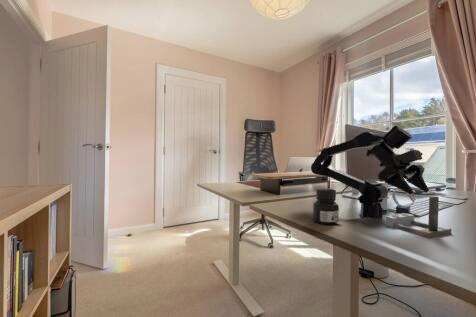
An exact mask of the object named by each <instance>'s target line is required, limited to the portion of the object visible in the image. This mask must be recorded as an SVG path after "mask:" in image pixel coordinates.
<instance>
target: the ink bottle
mask: <svg viewBox="0 0 476 317" xmlns="http://www.w3.org/2000/svg"><path fill="white" fill-rule="evenodd" d="M315 193H316V194H315V197H316V200H315V201H314V202H313V203H312V204H313V205H312V221H313V222H314V223H317V224H320V225H324V226H325V225H326V226H330V225H332V226H333V225H337V224H338V223H337V222H339V218H340V217H339V212H340V210H339V208H340V207H339V204H338V203H337V202H336V200H337V198H336V196H337V191H336V190H335V189H332V188H324V187H323V188H317V189H316V191H315Z"/></svg>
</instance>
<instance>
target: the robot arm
mask: <svg viewBox="0 0 476 317" xmlns="http://www.w3.org/2000/svg"><path fill="white" fill-rule="evenodd" d="M412 138H413V135H412V134H411V133H410V132H409V131H407V130H405V129H403V128H401V127H400V126H398V125H394V126H392V127H391V129H390V130H389V131H388V132H387V133H385V135H381V134H380V135H379V134H378V133H375V132H370V131H364V132H361V133H360V134H358V135H356V136H354V137H353V138H352V139H350V140H347V141H344V142H341V143H338V144H334V145H331V146H329V147H324V148H322V149H321V151H320V153H319V155H318V156H316V157H315V159H314V160H313V163H311V166H310V170H311V172H312V173H313V174H315V175H318V176H322V177H327V178H330V179H331V180H335V181H337V182H339V183H341V184H344V185H345V186H348V187H350V188H352V189H354V190H357V191H358V192H359V193H360V196H358V198H357V199H358V201H359V204H360V213H359V217H360V218H362V219H363V218H372V219H373V218H374V219H377V218H383V210H382V209H383V208H382V207H381V204H380V202H382V201H383V199H384V198H386V197H387V195H388V196H389V191H388V190H389V189H388V190H387V188H386V187H385V186H384V185H382V184H383V183H378V182H376V181H377V180H375V179H366V180H362V179H359V178H357V177H355V176H353V175H350V174H348V173H345V172H342V171H341V170H337V169H335V168H334V167H333V166H332V165H331V164H332V161H333V157H334V156H335V155H338V154H339V155H340V154H342V153H345V152H349V151H352V150H355V149H356V150H357V149H366V148H367V149H366V151H367V152H366V153H365V154H366V155H365V157H369V158H373V157H375V158H376V159H377V161H378V162H379V163H380V164H379V167H381V168H383V167H384V168H383V169H382V170H380V171H379V172H378V173H377V179H379V182H385V183H388V185H390V186H392V187H395V188H396V189H398V188H399V189H398V190H401V191H402V192H405V193H406V192H407V193H409V194H412V193H413V194H414V193H415V192H414V190H413V189H412V187H411V186H410V184H411V185H413V186H414V187H416V188H417V189H420V190H421V191H423V192H425V193H428V192H429V191H430V190H429V186H428V185H427V184H426V182H425V180H424V177H423V174H424V172H425V167H424V166H423V165H422V164H412V163H414V162H416V161H420V160H423V157H422V156H423V153H422V152H421V150H419V149H411V150H408V151H406V152H404V153H401V154H399V153H398V154H397V153H395V151H393V150H395V149H397V150H399V149H401V148H402V147H403V146H404V145H405V144H406V143H408V142H409V141H410V140H411V139H412ZM369 148H371V149H369ZM392 149H393V150H392ZM387 198H388V197H387Z"/></svg>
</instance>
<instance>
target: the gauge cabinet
mask: <svg viewBox="0 0 476 317" xmlns="http://www.w3.org/2000/svg"><path fill="white" fill-rule="evenodd" d="M413 220H414V221H415V215H414V214H411V213H402V212H401V213H400V214H391V215H387V216H385V226H388V227H391V228H395V227H394V224H395V223H397V224H400V225H403V226H407V225H413V224H412V221H413Z"/></svg>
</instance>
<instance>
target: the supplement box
mask: <svg viewBox="0 0 476 317" xmlns="http://www.w3.org/2000/svg"><path fill="white" fill-rule="evenodd" d="M375 181H376V182H378V183H383V184H382V185H384V186H385V187H386V188H387V190H389V184H388V183H385V181H383V182H381V181H380V180H378V181H377V180H375ZM388 196H389V194H388V195H387V197H386V198H384V199H383V201H382V202H380V204H381V207H382V208H383V209H382V211H386V210H388Z"/></svg>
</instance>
